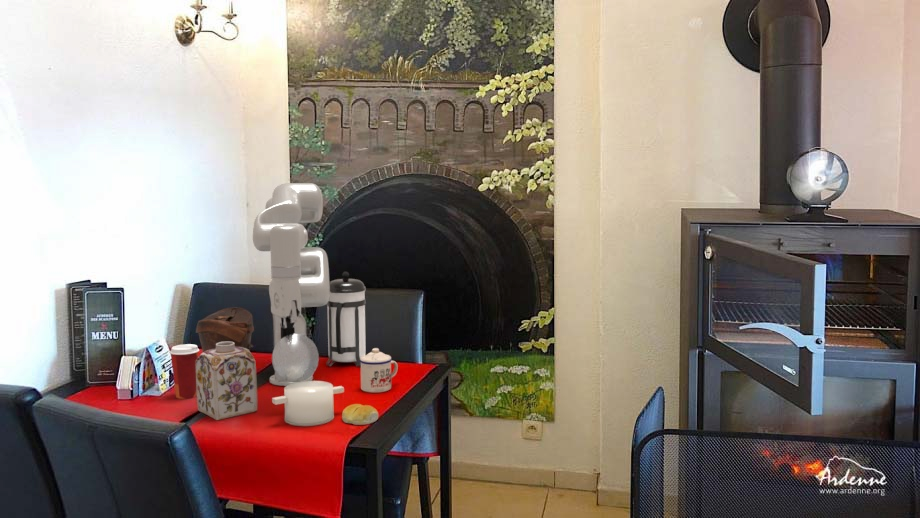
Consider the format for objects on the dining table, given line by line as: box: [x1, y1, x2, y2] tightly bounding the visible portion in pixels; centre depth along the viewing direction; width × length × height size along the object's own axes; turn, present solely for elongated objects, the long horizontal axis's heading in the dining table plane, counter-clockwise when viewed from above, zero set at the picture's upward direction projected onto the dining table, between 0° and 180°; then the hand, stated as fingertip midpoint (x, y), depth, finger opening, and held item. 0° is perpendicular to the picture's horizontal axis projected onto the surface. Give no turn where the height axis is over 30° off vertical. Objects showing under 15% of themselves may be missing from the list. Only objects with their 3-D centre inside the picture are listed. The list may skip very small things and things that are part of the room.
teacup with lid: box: [360, 347, 399, 394], centre depth 217 cm, size 12×9×12 cm
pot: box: [271, 380, 345, 427], centre depth 190 cm, size 12×18×8 cm, turn 125°
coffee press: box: [326, 271, 367, 368], centre depth 244 cm, size 17×16×30 cm
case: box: [195, 306, 255, 353], centre depth 242 cm, size 18×20×18 cm
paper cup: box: [169, 343, 200, 400], centre depth 209 cm, size 8×8×14 cm
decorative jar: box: [195, 341, 258, 421], centre depth 195 cm, size 12×12×18 cm
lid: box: [271, 334, 320, 382], centre depth 196 cm, size 12×12×2 cm
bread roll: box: [341, 403, 379, 426], centre depth 189 cm, size 8×9×4 cm
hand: (287, 342), depth 199 cm, fingers closed
